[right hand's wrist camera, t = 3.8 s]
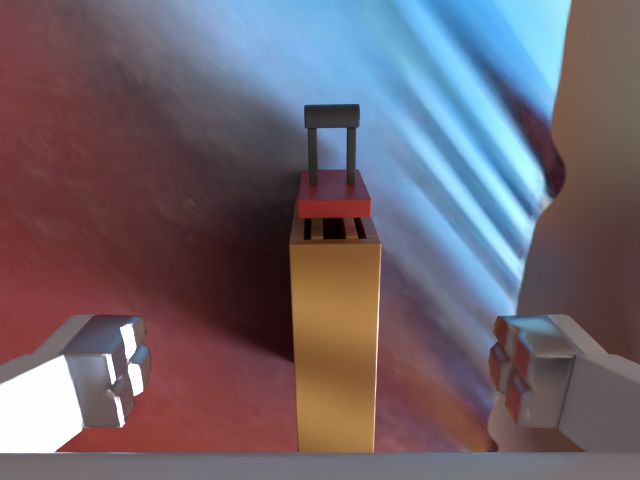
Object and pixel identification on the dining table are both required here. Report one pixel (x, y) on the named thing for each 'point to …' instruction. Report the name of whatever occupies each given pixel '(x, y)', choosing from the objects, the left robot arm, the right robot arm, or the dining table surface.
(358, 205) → the drawer
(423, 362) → the dining table surface
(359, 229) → the cabinet
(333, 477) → the right robot arm
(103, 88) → the dining table surface
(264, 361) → the dining table surface
